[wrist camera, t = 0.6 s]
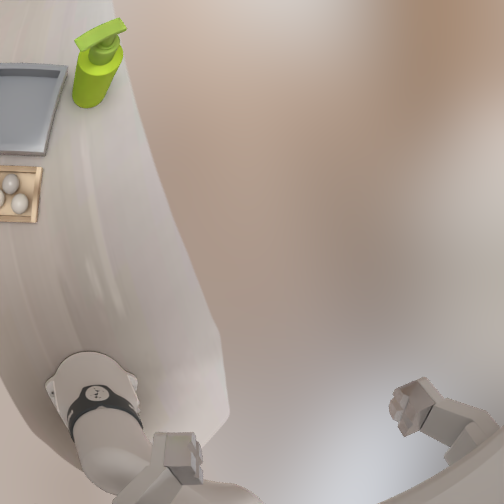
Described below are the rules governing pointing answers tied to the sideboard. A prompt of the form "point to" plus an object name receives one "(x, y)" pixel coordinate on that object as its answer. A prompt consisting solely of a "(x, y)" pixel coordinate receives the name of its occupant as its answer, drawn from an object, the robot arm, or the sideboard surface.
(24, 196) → the pebble
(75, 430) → the robot arm
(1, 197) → the pebble
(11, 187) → the pebble
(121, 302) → the sideboard surface
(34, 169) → the parts tray
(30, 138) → the dish
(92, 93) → the soap dispenser
